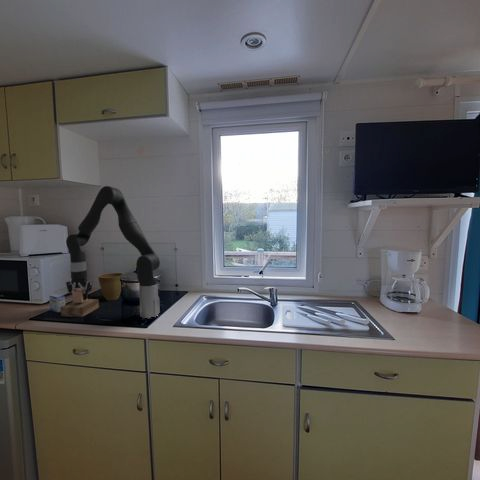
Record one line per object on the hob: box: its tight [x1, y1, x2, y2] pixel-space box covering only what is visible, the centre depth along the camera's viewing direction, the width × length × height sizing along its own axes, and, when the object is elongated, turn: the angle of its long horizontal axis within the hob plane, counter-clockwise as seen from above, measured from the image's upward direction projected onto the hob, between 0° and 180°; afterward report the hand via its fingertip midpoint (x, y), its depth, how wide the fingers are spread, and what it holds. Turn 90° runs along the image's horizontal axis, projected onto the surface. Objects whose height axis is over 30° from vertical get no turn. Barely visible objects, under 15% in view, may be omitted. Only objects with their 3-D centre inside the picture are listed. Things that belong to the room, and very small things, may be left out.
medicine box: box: [49, 293, 66, 313], centre depth 140 cm, size 8×4×9 cm, turn 62°
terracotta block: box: [71, 288, 89, 303], centre depth 137 cm, size 5×5×6 cm
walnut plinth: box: [60, 298, 100, 318], centre depth 138 cm, size 12×14×5 cm
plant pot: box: [97, 272, 125, 301], centre depth 160 cm, size 15×15×16 cm
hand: (80, 299), depth 137 cm, fingers open, 5 cm apart
